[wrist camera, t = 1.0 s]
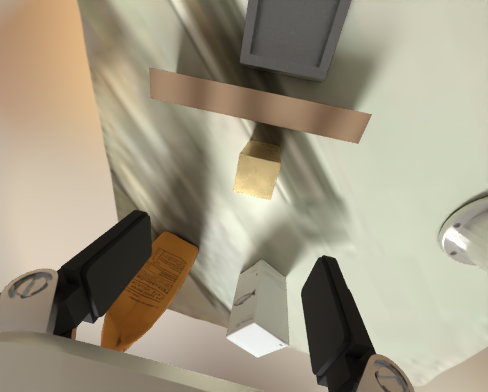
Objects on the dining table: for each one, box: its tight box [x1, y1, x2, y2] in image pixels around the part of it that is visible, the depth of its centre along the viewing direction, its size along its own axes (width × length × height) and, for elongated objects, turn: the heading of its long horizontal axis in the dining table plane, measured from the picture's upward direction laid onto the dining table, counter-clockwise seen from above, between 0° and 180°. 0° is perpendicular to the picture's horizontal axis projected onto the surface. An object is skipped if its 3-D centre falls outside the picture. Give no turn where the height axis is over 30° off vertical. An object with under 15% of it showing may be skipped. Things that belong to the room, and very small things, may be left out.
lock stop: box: [233, 140, 281, 200], centre depth 25 cm, size 4×4×9 cm
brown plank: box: [149, 68, 372, 144], centre depth 23 cm, size 24×3×6 cm, turn 80°
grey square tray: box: [240, 0, 351, 82], centre depth 20 cm, size 10×10×2 cm
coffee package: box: [101, 231, 198, 353], centre depth 31 cm, size 10×12×22 cm
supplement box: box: [226, 259, 289, 357], centre depth 34 cm, size 7×7×13 cm
